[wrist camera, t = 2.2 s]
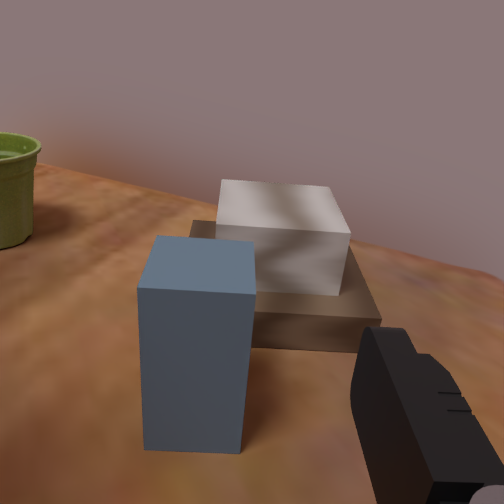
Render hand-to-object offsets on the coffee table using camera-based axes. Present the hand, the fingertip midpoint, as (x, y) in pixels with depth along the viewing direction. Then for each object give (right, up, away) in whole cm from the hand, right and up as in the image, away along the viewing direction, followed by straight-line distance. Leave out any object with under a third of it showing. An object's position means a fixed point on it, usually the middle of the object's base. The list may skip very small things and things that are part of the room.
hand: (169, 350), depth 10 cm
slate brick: (-1, -7, +17) cm, 18 cm away
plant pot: (-22, +3, +34) cm, 40 cm away
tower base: (+3, -1, +29) cm, 29 cm away
